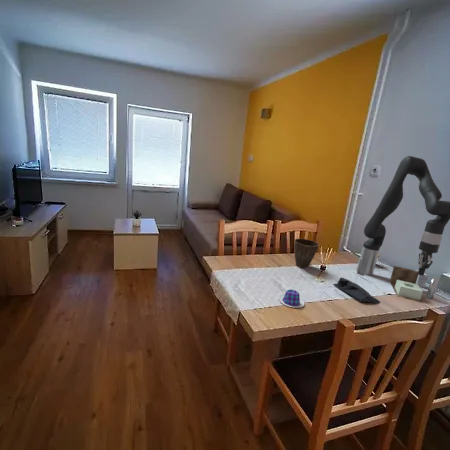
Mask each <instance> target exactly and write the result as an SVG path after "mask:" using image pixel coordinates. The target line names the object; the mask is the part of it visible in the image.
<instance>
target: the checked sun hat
mask: <svg viewBox="0 0 450 450" xmlns="http://www.w3.org/2000/svg"><path fill="white" fill-rule="evenodd" d="M277 300H278V301H279V302H280V303H281V304H282V305H285V306H286V307H290V308H297V309H298V308H300V309H301V308H302V307H304V306H305V301H304V300H303V299H302V298H301V297H300V293H299V291H297V290H295V289H287V290H286V292H285V293H284V294H280V295H279V296H278V299H277Z"/></svg>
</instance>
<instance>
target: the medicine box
mask: <svg viewBox="0 0 450 450" xmlns="http://www.w3.org/2000/svg"><path fill="white" fill-rule="evenodd" d="M414 270H415V271H418V270H419V269H414ZM428 276H429V275H428V274H427V273H425V272H424V275H423V276H422V275H419V274H418V278H417V281H416V284H418V286H419V287H420V288H426V287H425V286H426V284H427V280H428Z"/></svg>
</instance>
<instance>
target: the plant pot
mask: <svg viewBox="0 0 450 450" xmlns="http://www.w3.org/2000/svg"><path fill="white" fill-rule="evenodd" d="M319 245H320V244H319V242H317V241H314V240H310V239H306V238H296V239H294V245H293V246H294V247H293V248H294V261H295V265H296V266H298V267H299V268H304V269H306V268H309V266H310V264H311V262H312V261H313V260H314V257H315V255H316V253H317V250H318V249H319Z"/></svg>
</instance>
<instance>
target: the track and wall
mask: <svg viewBox="0 0 450 450" xmlns="http://www.w3.org/2000/svg"><path fill="white" fill-rule="evenodd" d="M415 270H416V269H411V268H410V269H409V268H405V267H402V266H396V265H393V268H392V272H391V275H390V279H389V283H390V285H391V287H392V289H393V291H394V293H395V295H396V297H397V298H402V299H406V300H409V301H413V302H418V303H422V304H424V303H425V302H424V300H422V298H421V299H420V300H417V299H413V298H409V297H405V296H401V295H398V293H397V291H396V289H395V285H396V281H397V280H401V281H405V282H409V283H414V284H416V281H417V278H418V271H415Z"/></svg>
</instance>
